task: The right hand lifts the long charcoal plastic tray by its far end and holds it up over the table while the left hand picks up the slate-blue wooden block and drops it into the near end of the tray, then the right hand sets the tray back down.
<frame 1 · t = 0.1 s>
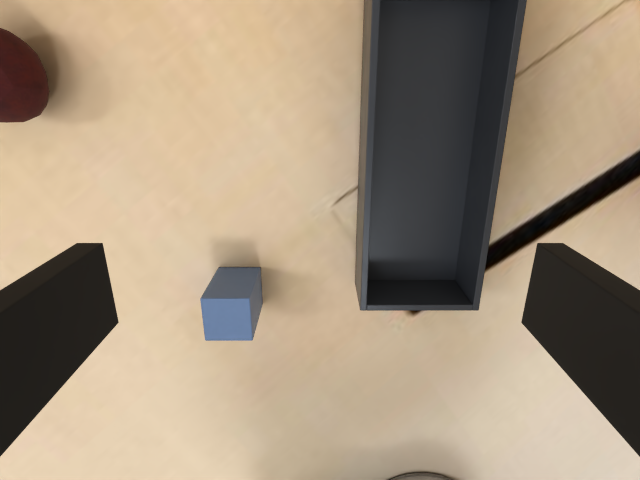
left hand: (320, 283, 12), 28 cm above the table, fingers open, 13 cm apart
tray: (416, 155, 38), on the table
block: (241, 285, 43), on the table
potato: (26, 78, 36), on the table
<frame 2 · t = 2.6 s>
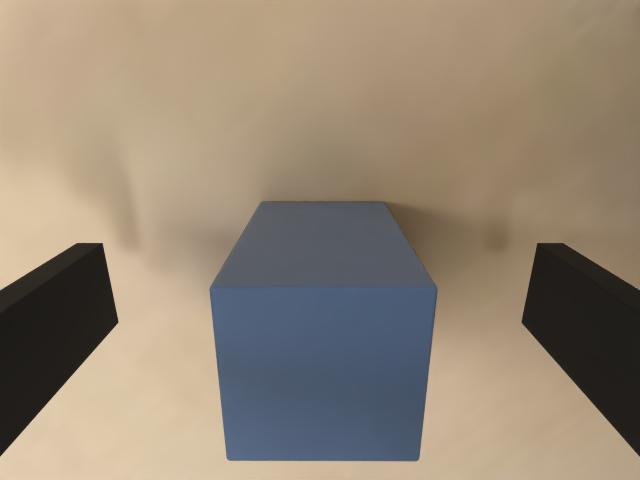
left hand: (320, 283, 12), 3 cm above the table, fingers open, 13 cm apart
block: (322, 259, 15), on the table
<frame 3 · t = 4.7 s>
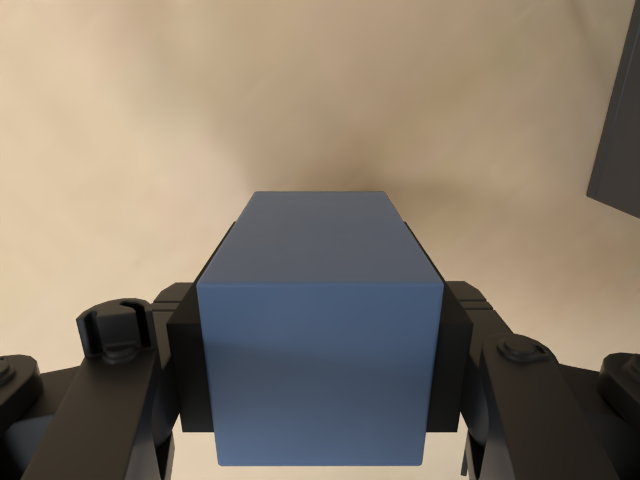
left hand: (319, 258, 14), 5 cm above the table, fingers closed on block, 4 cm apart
block: (319, 251, 14), point 4 cm above the table, touching left hand
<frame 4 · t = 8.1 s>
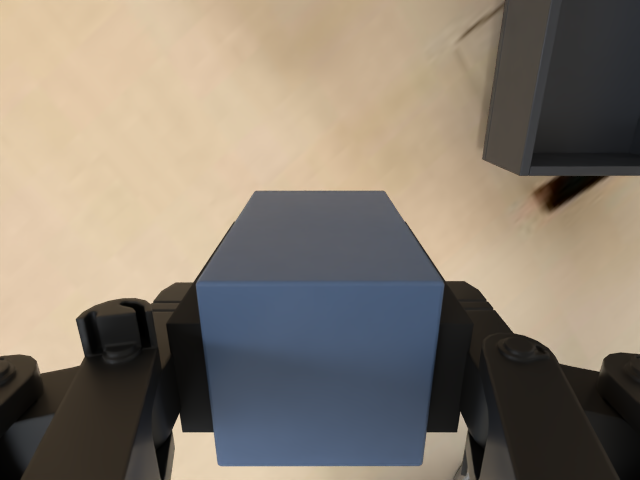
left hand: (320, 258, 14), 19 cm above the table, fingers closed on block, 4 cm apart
block: (319, 251, 14), point 18 cm above the table, touching left hand
when the left hand's fingers open (16 cm above the table, at t = 11.3 s): block drops 8 cm, resting on tray.
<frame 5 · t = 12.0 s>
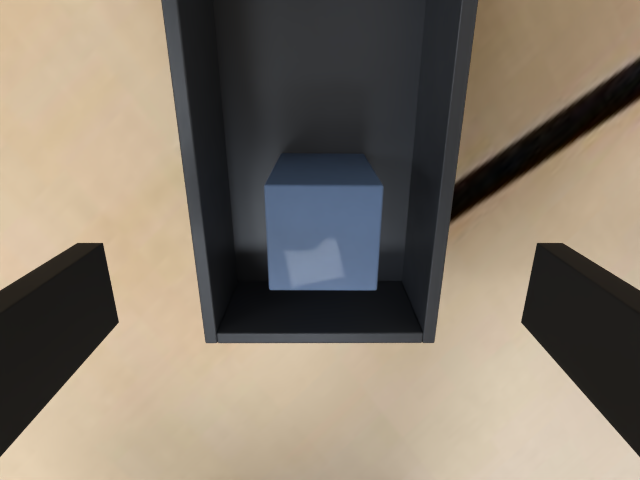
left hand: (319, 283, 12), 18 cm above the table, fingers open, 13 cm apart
tray: (319, 44, 20), point 7 cm above the table, touching block, right hand
block: (322, 193, 22), point 7 cm above the table, touching tray
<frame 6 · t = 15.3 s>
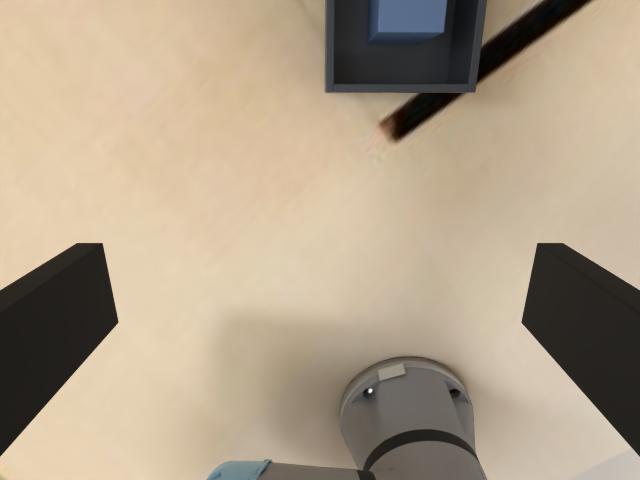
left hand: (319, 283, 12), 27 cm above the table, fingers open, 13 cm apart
block: (395, 14, 33), point 1 cm above the table, touching tray
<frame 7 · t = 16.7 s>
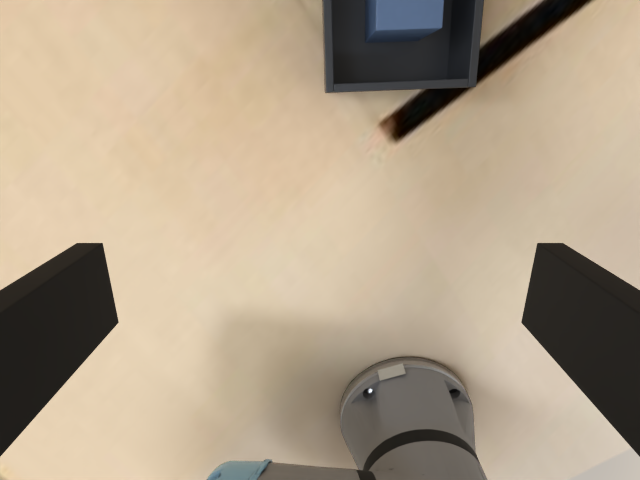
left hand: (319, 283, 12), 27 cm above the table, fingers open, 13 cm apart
block: (392, 11, 33), point 1 cm above the table, touching tray
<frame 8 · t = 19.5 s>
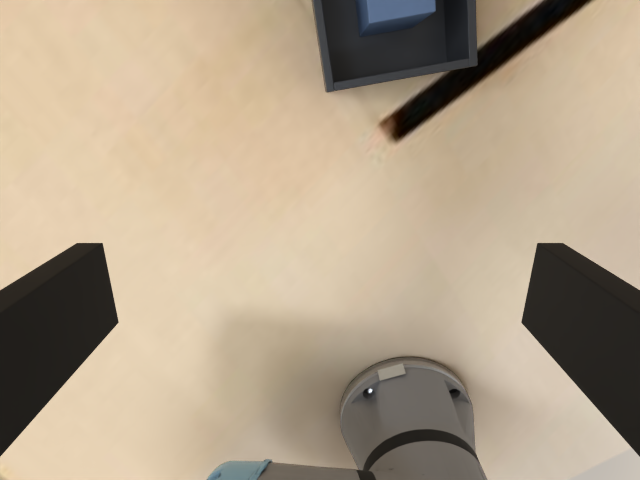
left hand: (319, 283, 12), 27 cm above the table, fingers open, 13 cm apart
block: (383, 2, 32), point 1 cm above the table, touching tray
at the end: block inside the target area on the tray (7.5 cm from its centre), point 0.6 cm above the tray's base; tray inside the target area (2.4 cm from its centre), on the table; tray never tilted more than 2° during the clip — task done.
